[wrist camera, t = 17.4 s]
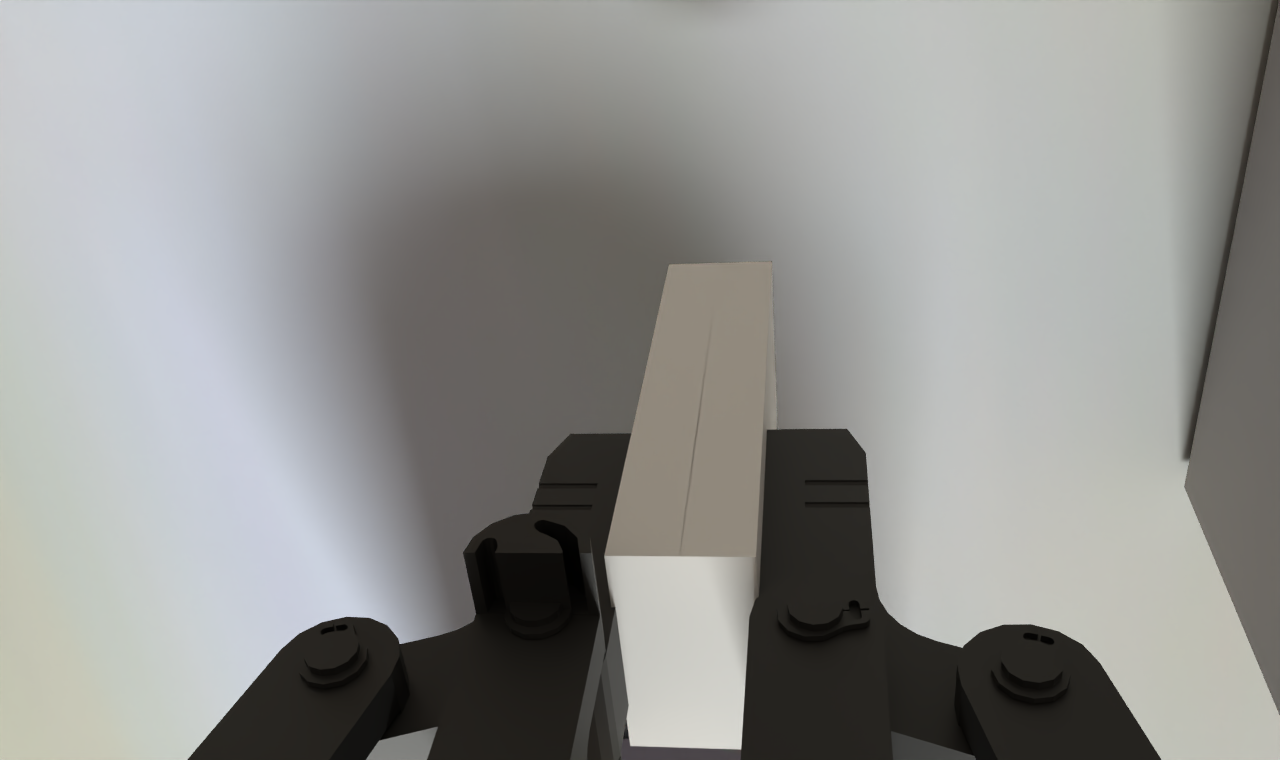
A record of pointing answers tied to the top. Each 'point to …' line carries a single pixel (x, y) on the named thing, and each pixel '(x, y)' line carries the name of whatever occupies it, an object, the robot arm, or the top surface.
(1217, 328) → the tray
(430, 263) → the top surface
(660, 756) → the container
